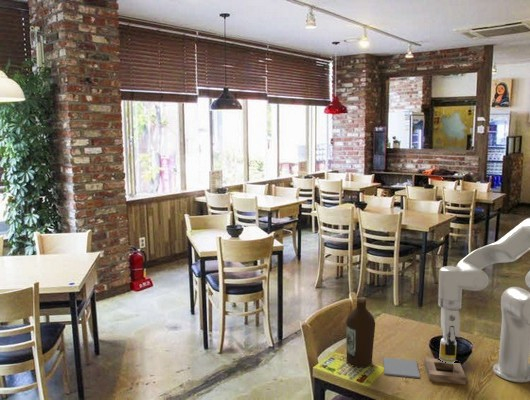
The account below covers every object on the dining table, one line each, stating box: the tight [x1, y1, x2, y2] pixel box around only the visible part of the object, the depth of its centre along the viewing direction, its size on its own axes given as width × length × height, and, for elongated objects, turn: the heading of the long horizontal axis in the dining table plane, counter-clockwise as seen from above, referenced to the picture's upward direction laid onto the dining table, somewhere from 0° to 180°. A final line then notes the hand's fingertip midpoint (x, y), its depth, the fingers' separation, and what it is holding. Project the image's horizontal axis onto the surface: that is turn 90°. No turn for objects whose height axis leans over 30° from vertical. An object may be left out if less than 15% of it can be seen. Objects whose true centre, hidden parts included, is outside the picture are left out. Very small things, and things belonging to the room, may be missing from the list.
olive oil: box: [345, 296, 376, 368], centre depth 175 cm, size 11×11×25 cm
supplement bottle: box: [438, 332, 458, 363], centre depth 166 cm, size 5×5×10 cm
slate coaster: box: [382, 357, 421, 379], centre depth 172 cm, size 12×12×1 cm
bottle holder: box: [424, 357, 467, 385], centre depth 168 cm, size 12×12×2 cm
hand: (448, 350), depth 167 cm, fingers closed on supplement bottle, 5 cm apart
